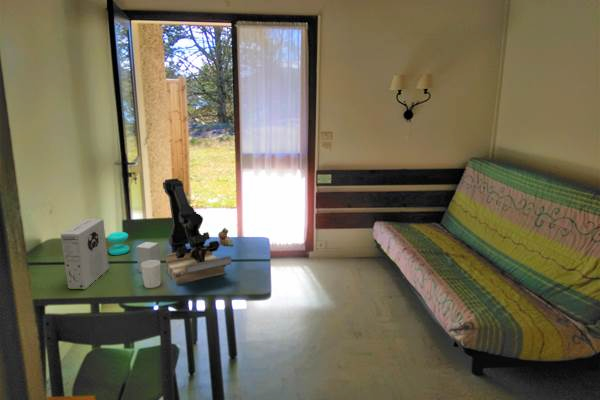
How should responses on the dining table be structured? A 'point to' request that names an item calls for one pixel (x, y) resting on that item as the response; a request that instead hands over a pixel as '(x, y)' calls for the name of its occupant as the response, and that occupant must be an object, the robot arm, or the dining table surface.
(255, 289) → the dining table surface
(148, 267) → the white cup
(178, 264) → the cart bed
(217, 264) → the panel
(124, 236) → the donuts
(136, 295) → the dining table surface
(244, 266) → the dining table surface
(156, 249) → the supplement box
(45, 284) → the dining table surface
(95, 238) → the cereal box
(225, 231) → the chocolate bunny
